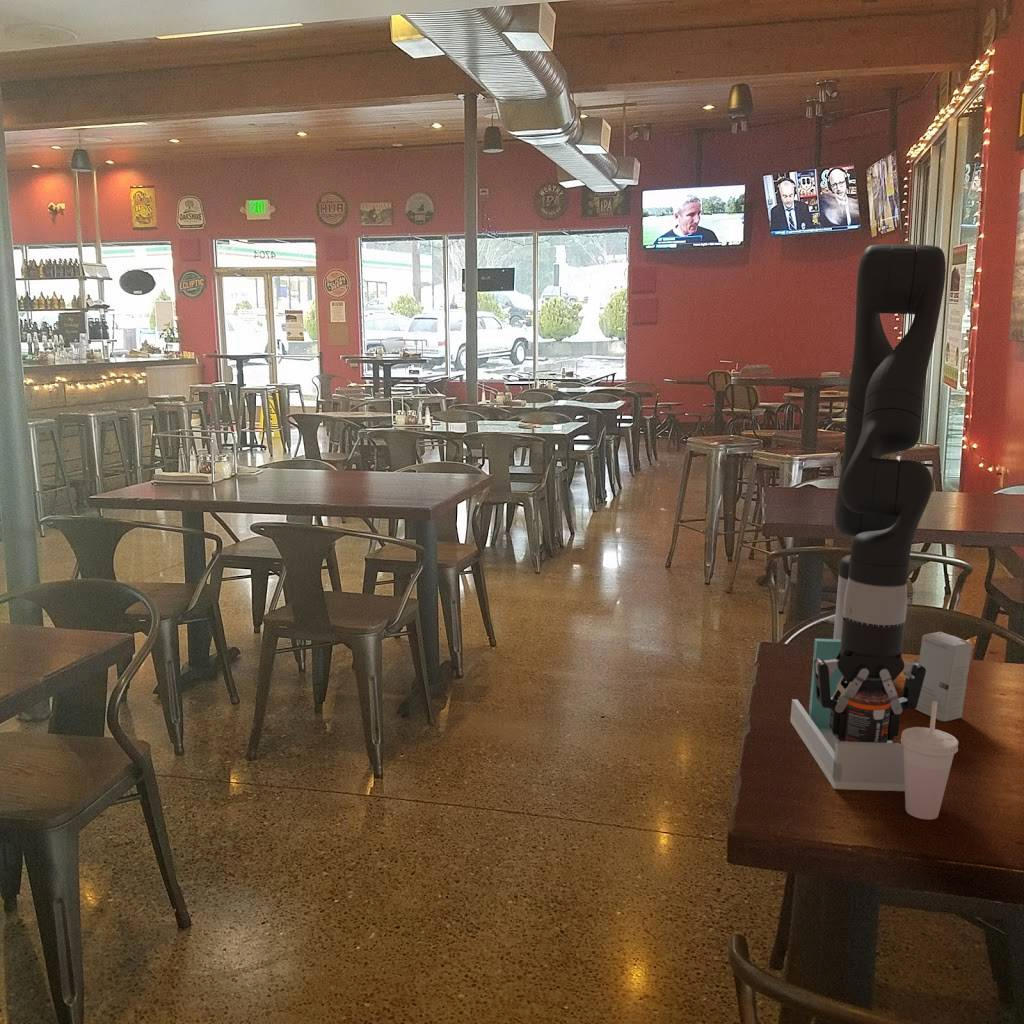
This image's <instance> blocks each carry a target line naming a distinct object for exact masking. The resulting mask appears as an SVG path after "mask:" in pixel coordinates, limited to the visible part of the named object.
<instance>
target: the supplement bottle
mask: <svg viewBox="0 0 1024 1024" xmlns="http://www.w3.org/2000/svg"><path fill="white" fill-rule="evenodd" d="M890 709H891V700H890V699H889V697H888V696H887V694H886V692H885V690H884V688H883V684H882V681H881V679H880V677H867V678H866V680H865V681H864V682H863V683H862V685H861V686H860V688H859V689H858V691H857V693H856V694H855V696H854V698H853V699H849V703H848V704H847V706H846V708H845V709H844V712H845V724H844V735H843V739H839V741H842V742H875V743H887V738H888V727H889V718H890Z"/></svg>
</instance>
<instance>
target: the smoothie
mask: <svg viewBox="0 0 1024 1024" xmlns="http://www.w3.org/2000/svg"><path fill="white" fill-rule="evenodd" d="M936 712H937V701H933V702H932V711H931V716H930V721H929V722H930V723H929V727H925V726H922V727H921V726H913V727H912V726H911V727H907V728H905V729H903V730H902V731H901V738H900V743H902V744H903V751H904V779H905V791H904V801H905V803H904V805H905V806H904V807H905V811H906V813H907V814H908V815H910V816H912V817H914V818H917V819H920V820H926V821H927V820H930V821H931V820H936V819H937V818H939V814H940V810H941V806H942V803H943V799H944V795H945V791H946V788H947V787H946V786H947V783H948V779H949V775H950V772H951V768H952V763H953V759H954V756H955V754H956V753H957V752H959V748H958V747H959V740H958V739H957V738H956V737H955V736H954V735H953V734H951V733H948V732H945V731H943V730H940V729H936V720H937V719H936Z"/></svg>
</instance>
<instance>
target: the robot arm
mask: <svg viewBox="0 0 1024 1024" xmlns="http://www.w3.org/2000/svg"><path fill="white" fill-rule="evenodd" d="M946 267H947V266H946V257H945V253H944V251H943V249H942V248H941V247H939V246H937V245H932V244H931V245H928V244H898V243H897V244H894V243H893V244H885V243H883V244H872V245H869V246H867V248H865V249H864V251H863V253H862V254H861V258H860V261H859V265H858V269H857V277H856V278H857V279H856V294H855V295H856V298H855V303H856V304H855V327H854V328H855V331H854V346H853V347H854V348H853V356H852V365H851V372H850V379H849V385H848V393H847V400H846V401H847V402H846V412H845V429H844V431H845V432H844V444H843V445H844V447H843V456H842V464H841V469H840V474H839V479H838V484H837V492H836V496H835V497H836V498H835V503H834V504H835V505H834V523H835V528H836V529H837V530H838V532H839V533H841V534H843V535H846V536H852V537H853V538H852V541H851V544H850V545H851V546H850V554H847V555H845V556H843V557H842V558H841V560H840V561H839V567H838V568H839V569H838V577H837V578H838V579H837V591H836V592H837V593H836V602H835V603H836V604H835V615H834V627H833V637H832V639H841V645H840V652H839V654H838V656H837V657H836V659H831V660H822V659H821V658H817V659H815V660H814V671H815V685H816V698H817V700H818V701H819V702H820V703H821V705H822V706H823V707H824V708H830V709H831V710H830V723H829V728H830V731H831V732H832V733H833V735H834V736H835V737H836V739H843V735H844V724H845V712H844V709H845V708H846V706H847V704H848V703H849V699H853V698H854V696H855V694H856V693H857V691H858V689H859V688H860V686H861V685H862V683H863V682H864V681H865V680H866V678H867V677H880V679H881V681H882V684H883V688H884V690H885V692H886V694H887V696H888V697H889V699H890V700H891V709H890V718H889V727H888V738H887V740H890V741H892V742H893V741H894V740H895V737H897V736H898V735H899V734H900V733H899V732H900V722H901V715H902V713H903V712H904V711H908V710H909V711H914V710H916V707H917V704H918V700H919V696H920V692H921V688H922V685H923V681H924V677H925V673H926V669H925V668H924V667H923V666H922V665H921V664H920V663H919V661H918V660H915V659H914V660H911V661H904V660H903V657H902V653H903V650H904V649H903V648H904V647H903V646H904V639H905V638H904V637H905V628H906V617H907V615H908V591H907V585H908V583H907V582H908V577H909V576H908V575H909V567H910V566H909V564H910V558H911V557H910V556H911V549H912V546H913V541H914V537H915V534H916V532H917V528H918V526H919V524H920V521H921V519H922V516H923V514H924V512H925V510H926V508H927V505H928V503H929V500H930V498H931V495H932V491H933V482H934V481H933V477H932V474H931V472H930V470H929V468H928V467H927V466H926V465H925V464H924V463H922V462H921V461H917V460H910V459H900V460H899V459H891V458H889V459H888V458H882V457H883V456H884V455H889V454H895V453H900V452H905V451H907V450H910V449H912V448H913V447H915V446H916V445H917V444H918V442H919V440H920V436H921V430H922V429H921V428H922V420H923V418H922V417H923V407H924V392H925V386H926V385H925V384H926V378H927V375H928V373H927V372H928V370H929V369H928V368H929V363H930V360H931V356H932V352H933V347H934V342H935V339H936V335H937V329H938V323H939V322H938V321H939V318H940V311H941V309H942V301H943V296H944V290H945V289H944V288H945V281H946V271H947V270H946ZM881 314H888V315H889V314H892V315H893V314H895V315H914V318H913V320H912V323H911V325H910V326H909V329H908V331H907V332H906V333H905V335H904V336H903V337H902V339H901V340H900V341H899V343H897V345H896V346H895V347H894V348H893V347H892V345H891V343H890V341H889V339H888V336H886V333H885V331H884V326H883V324H882V320H881ZM836 668H838V669H839V670H840V672H841V673H842V675H843V676H842V677H841V679H840V681H839V682H838V684H837V689H836V691H835V692H834V694H833V696H832V697H831V696H830V683H829V677H832V676H833V673H834V670H835V669H836ZM902 672H903V676H904V678H905V681H904V685H903V689H902V693H901V696H900V697H899V695H898V693H897V690H896V686H895V685H894V681H895V680H896V679H897V677H898V676H899V675H900V674H901V673H902Z"/></svg>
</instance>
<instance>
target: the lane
mask: <svg viewBox="0 0 1024 1024" xmlns="http://www.w3.org/2000/svg"><path fill="white" fill-rule="evenodd" d="M790 710H791V711H790V723H791V724H792V727H793V728H794V730H795V731H796V732H797V735H798V736H799V737H800V738H801V740H802V742H803V744H805V745H804V746H805V747H807V749H808V750H809V751H808V752H809V753H810V754H811V756H812V757H813V758H814V760H815V762H816V763H817V765H818V766H819V768H820V770H821V771H822V773H823V774H824V776H825V777H826V779H827V780H828V782H829V784H830V786H831V787H832V788H833V790H850V791H851V790H853V791H854V790H859V791H860V790H861V791H885V792H889V791H891V792H905V779H904V751H903V744H902V743H901V742H900V743H899V742H893V741H890V740H887V743H875V742H842V741H839V739H836V737H835V736H834V735H833V733H832V732H831V731H830V729H818V728H817V726H816V725H815V723H814V722H813V721H812V719H811V718H810V716H809V712H807V711H806V709H805V708H804V706H803V705H802V704H801V703H800V701H799V700H798V699H797V698H796V699H793V698H792V699H791V709H790Z"/></svg>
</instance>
